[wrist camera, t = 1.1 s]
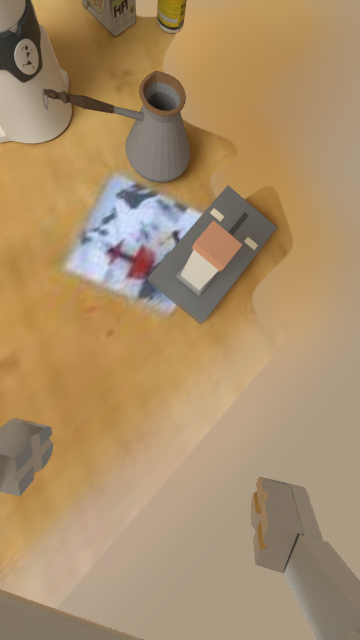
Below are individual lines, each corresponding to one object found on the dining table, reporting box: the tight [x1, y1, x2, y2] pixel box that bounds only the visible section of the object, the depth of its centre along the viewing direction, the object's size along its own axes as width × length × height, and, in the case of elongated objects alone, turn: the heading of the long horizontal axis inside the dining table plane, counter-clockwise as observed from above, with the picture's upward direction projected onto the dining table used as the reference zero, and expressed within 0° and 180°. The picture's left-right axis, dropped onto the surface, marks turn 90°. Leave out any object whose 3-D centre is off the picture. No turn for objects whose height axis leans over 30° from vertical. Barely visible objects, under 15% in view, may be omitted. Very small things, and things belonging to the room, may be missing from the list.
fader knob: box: [176, 220, 242, 296], centre depth 35 cm, size 5×4×14 cm
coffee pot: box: [42, 71, 190, 183], centre depth 38 cm, size 21×12×15 cm, turn 107°
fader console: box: [148, 186, 277, 324], centre depth 44 cm, size 12×23×3 cm, turn 141°
